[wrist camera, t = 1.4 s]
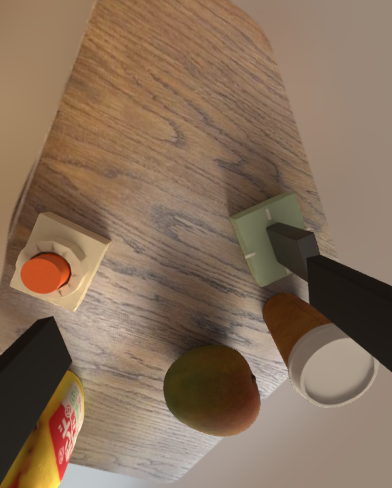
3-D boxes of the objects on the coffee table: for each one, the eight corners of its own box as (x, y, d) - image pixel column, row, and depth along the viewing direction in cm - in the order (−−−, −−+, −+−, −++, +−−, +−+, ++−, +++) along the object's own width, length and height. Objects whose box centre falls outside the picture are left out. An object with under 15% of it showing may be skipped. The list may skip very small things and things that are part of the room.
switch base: (49, 211, 27) (29, 214, 23) (111, 240, 28) (102, 248, 24) (20, 279, 28) (-4, 293, 24) (80, 303, 30) (67, 320, 26)
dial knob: (265, 227, 27) (298, 240, 20) (278, 221, 27) (315, 232, 20) (277, 262, 28) (312, 285, 21) (289, 256, 28) (328, 278, 21)
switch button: (40, 246, 24) (28, 251, 22) (75, 262, 25) (67, 268, 23) (27, 277, 25) (14, 284, 23) (62, 291, 25) (52, 299, 23)
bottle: (47, 358, 31) (-154, 629, 12) (94, 361, 32) (-24, 618, 13) (45, 423, 34) (-125, 732, 15) (87, 424, 35) (-18, 716, 15)
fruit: (253, 372, 36) (283, 439, 26) (184, 403, 36) (189, 482, 26) (227, 316, 33) (251, 369, 23) (152, 351, 33) (144, 418, 23)
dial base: (224, 218, 29) (231, 221, 26) (287, 190, 29) (300, 190, 26) (249, 280, 32) (258, 290, 29) (306, 254, 32) (321, 261, 29)
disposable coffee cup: (296, 342, 35) (357, 416, 24) (243, 331, 34) (281, 404, 22) (320, 290, 33) (399, 343, 22) (265, 275, 32) (319, 324, 20)
